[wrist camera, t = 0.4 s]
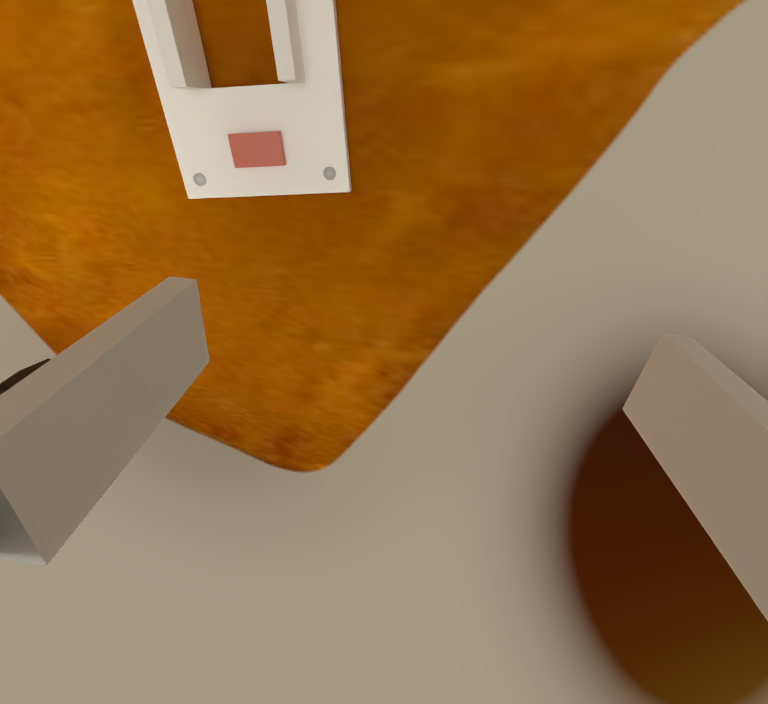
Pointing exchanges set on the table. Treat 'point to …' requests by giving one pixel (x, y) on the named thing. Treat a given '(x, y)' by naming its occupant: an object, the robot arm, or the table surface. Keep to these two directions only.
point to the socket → (253, 104)
